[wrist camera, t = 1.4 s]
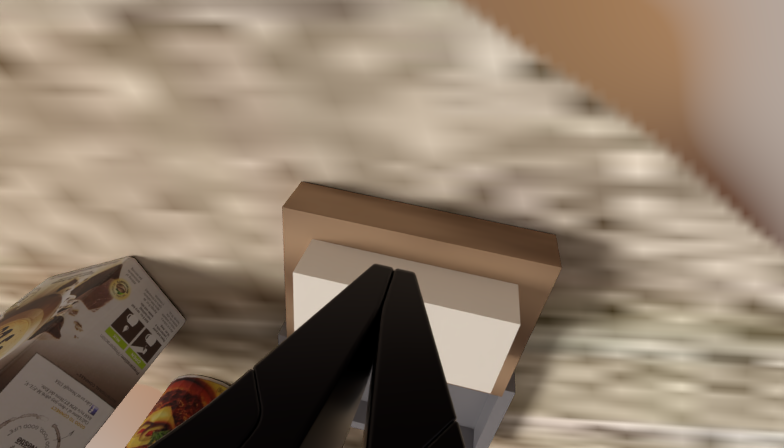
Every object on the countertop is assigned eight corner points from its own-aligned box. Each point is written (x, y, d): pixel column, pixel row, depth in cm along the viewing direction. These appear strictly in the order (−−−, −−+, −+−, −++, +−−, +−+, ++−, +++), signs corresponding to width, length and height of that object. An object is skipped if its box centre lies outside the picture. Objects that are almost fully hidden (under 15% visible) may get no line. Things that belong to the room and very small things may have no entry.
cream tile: (491, 352, 23) (490, 393, 21) (311, 309, 24) (294, 345, 22) (518, 284, 20) (520, 324, 18) (312, 239, 21) (292, 272, 19)
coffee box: (131, 251, 28) (-185, 533, 15) (189, 320, 31) (-32, 606, 18) (44, 274, 31) (-276, 522, 18) (105, 335, 34) (-134, 586, 21)
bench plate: (501, 361, 27) (501, 397, 25) (302, 314, 28) (287, 343, 26) (555, 234, 21) (561, 267, 19) (301, 181, 22) (282, 207, 20)
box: (482, 433, 32) (481, 461, 30) (292, 385, 33) (281, 408, 31) (514, 364, 27) (515, 392, 25) (290, 311, 28) (277, 334, 27)
